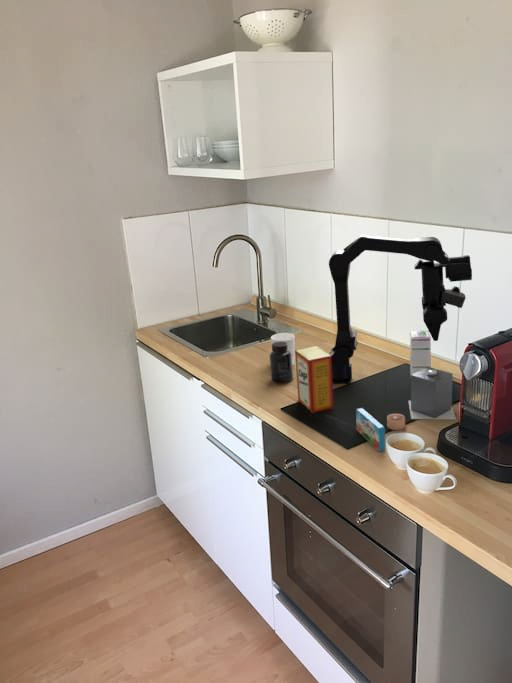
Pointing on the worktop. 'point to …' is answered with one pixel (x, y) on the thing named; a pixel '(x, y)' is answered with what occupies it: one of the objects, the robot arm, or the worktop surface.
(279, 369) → the supplement bottle
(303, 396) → the baking soda box
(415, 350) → the syrup box
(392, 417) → the terracotta bowl
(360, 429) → the light blue carton
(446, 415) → the grey rubber mat
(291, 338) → the white cup
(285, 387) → the worktop surface
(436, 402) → the charcoal cover canister
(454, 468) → the worktop surface
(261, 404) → the worktop surface
